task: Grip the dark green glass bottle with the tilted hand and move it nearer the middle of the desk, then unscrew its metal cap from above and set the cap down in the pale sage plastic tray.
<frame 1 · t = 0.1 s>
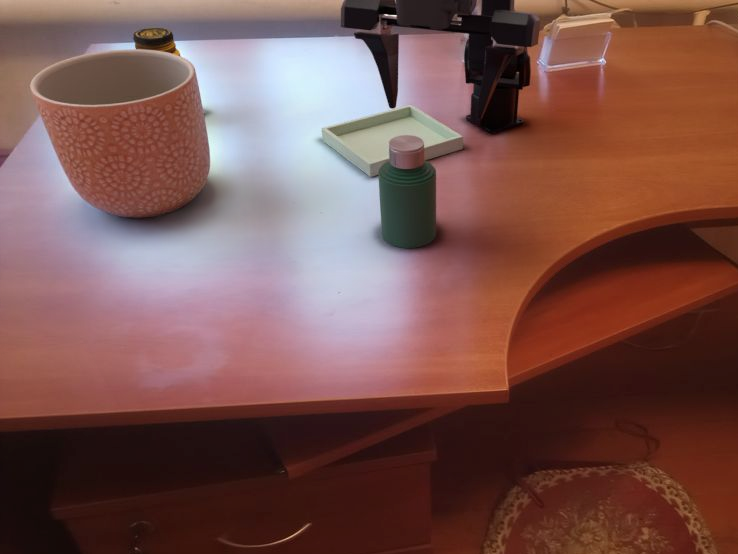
hand: (435, 113, 74), 15 cm above the table, tool pointing down, fingers open, 9 cm apart
condiment: (167, 119, 108), on the table
planter: (150, 199, 90), on the table
tray: (392, 144, 103), on the table
bottle: (409, 233, 85), on the table
cap: (406, 145, 78), point 11 cm above the table, screwed on, not yet turned
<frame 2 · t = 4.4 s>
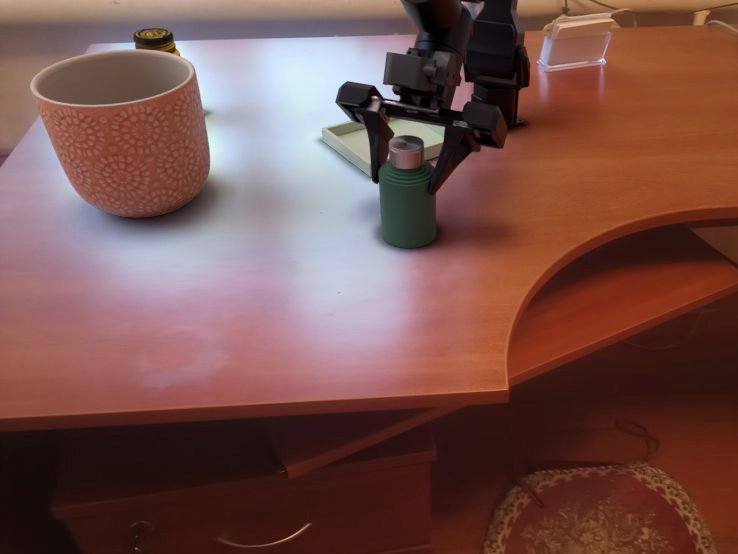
hand: (402, 188, 80), 7 cm above the table, tool tilted 45°, fingers closed on bottle, 6 cm apart
bottle: (409, 233, 85), on the table, touching gripper
everything else where it was.
when the fingers open (7 cm above the table, at t = 10.0 s): bottle stays where it is, on the table.
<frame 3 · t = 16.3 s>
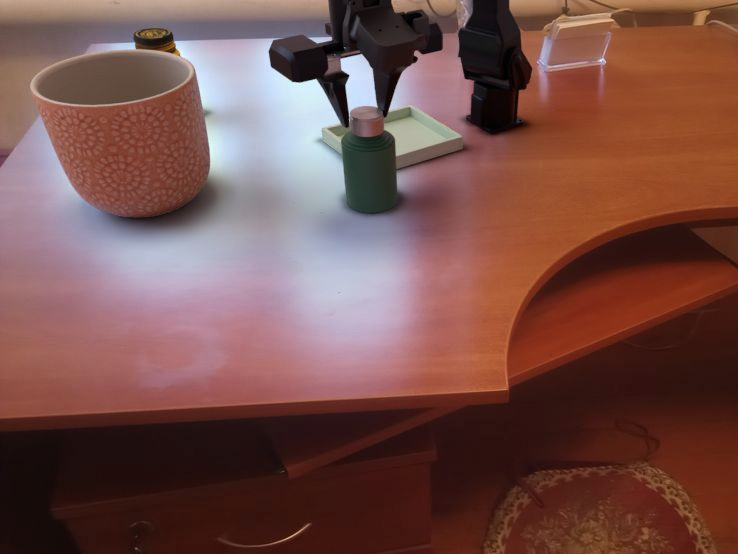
hand: (364, 121, 84), 10 cm above the table, tool pointing down, fingers open, 5 cm apart
bottle: (372, 200, 91), on the table
cap: (366, 114, 84), point 11 cm above the table, screwed on, not yet turned
everything else where it was.
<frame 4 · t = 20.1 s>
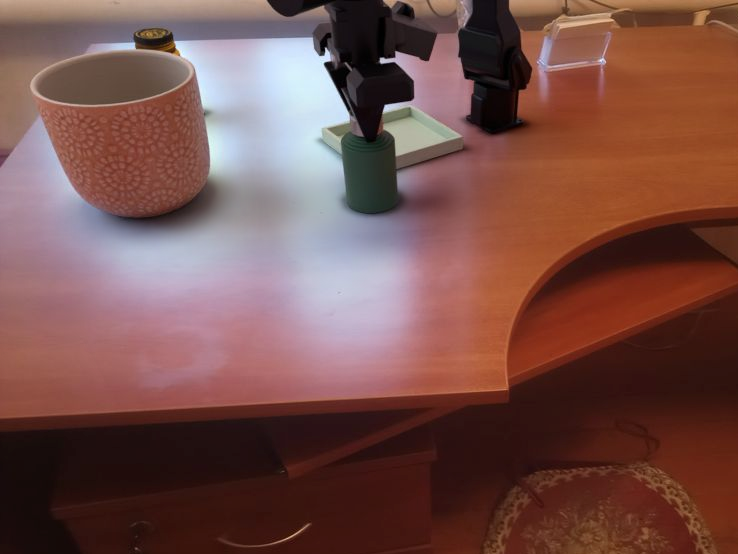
hand: (365, 134, 85), 9 cm above the table, tool pointing down, fingers closed on cap, 4 cm apart
bottle: (372, 200, 91), on the table, touching gripper
cap: (365, 114, 84), point 11 cm above the table, turned 77° so far, risen 0.1 cm, still on its thread, touching gripper
everything else where it was.
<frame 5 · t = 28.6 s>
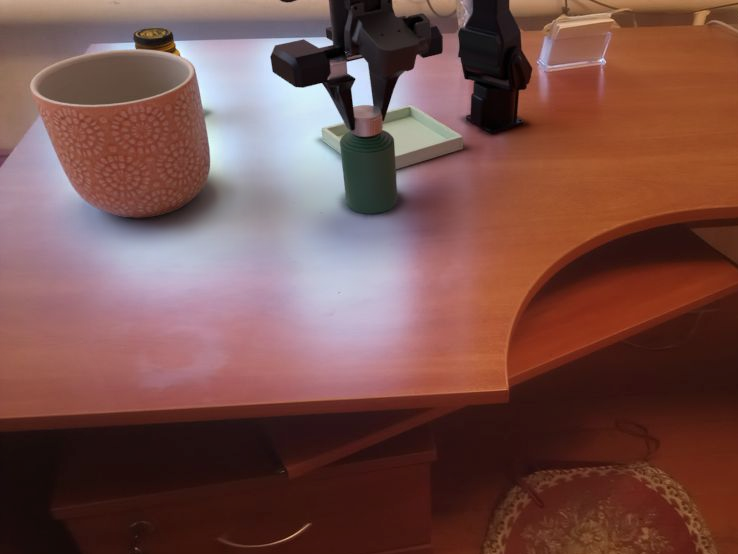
hand: (365, 125, 84), 10 cm above the table, tool pointing down, fingers closed on cap, 4 cm apart
bottle: (371, 200, 91), on the table
cap: (364, 114, 83), point 11 cm above the table, turned 153° so far, risen 0.2 cm, still on its thread, touching gripper
everything else where it was.
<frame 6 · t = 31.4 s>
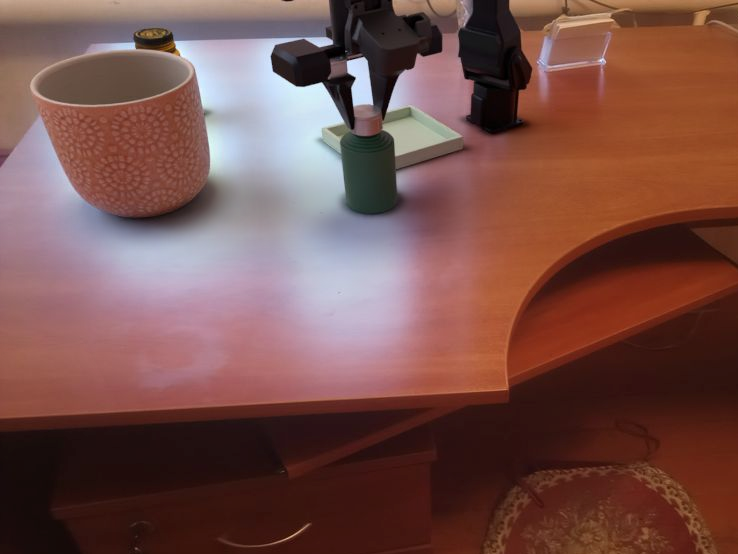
hand: (365, 124, 84), 10 cm above the table, tool pointing down, fingers closed on cap, 4 cm apart
cap: (364, 113, 83), point 11 cm above the table, turned 229° so far, risen 0.2 cm, still on its thread, touching gripper
everything else where it was.
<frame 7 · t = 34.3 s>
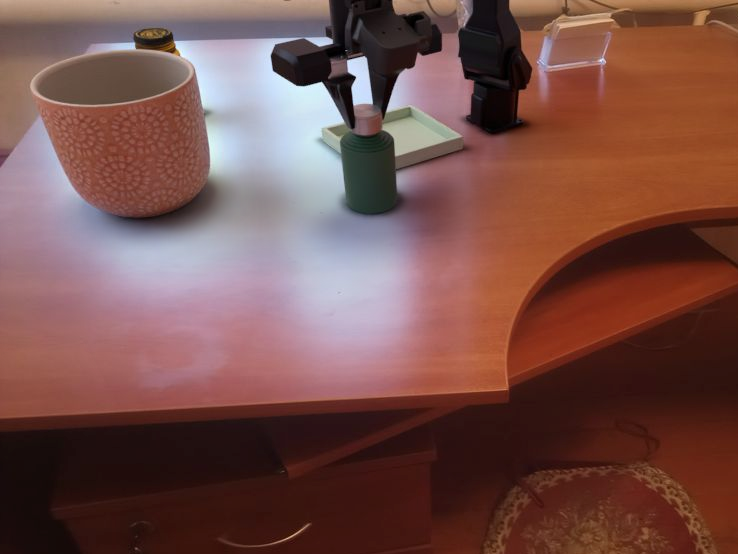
hand: (365, 123, 84), 10 cm above the table, tool pointing down, fingers closed on cap, 4 cm apart
cap: (364, 112, 83), point 11 cm above the table, turned 306° so far, risen 0.3 cm, still on its thread, touching gripper
everything else where it was.
when the fingers open (2 cm above the table, at t = 44.0 s): cap stays where it is, resting on tray.
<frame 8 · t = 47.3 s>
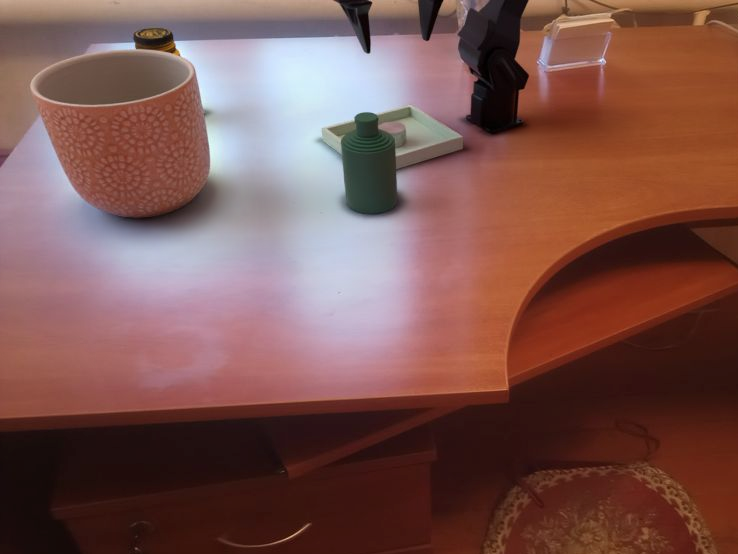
hand: (397, 46, 96), 13 cm above the table, tool pointing down, fingers open, 9 cm apart
cap: (392, 129, 102), point 2 cm above the table, off its thread, touching tray
everything else where it was.
at the end: bottle inside the target area (0.3 cm from its centre), on the table; cap inside the target area in the tray (0.0 cm from its centre), point 2.3 cm above the tray's base; the gripper is holding nothing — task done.
